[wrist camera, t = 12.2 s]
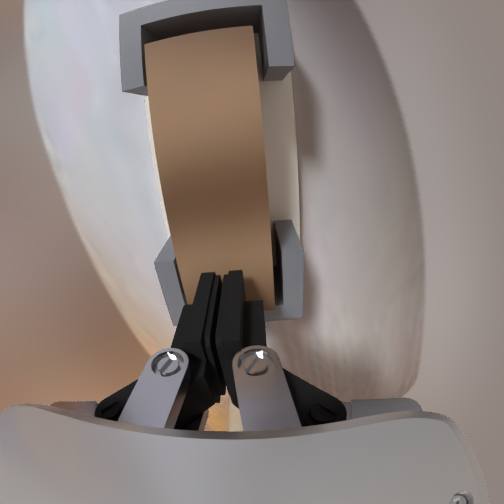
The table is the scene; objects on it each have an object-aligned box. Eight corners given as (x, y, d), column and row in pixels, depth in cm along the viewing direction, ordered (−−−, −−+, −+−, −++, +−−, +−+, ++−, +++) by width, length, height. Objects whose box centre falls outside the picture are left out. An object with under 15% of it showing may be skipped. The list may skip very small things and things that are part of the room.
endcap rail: (146, 42, 11) (109, 18, 7) (282, 23, 11) (296, -13, 7) (182, 278, 19) (165, 326, 14) (297, 269, 18) (311, 316, 14)
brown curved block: (176, 66, 12) (144, 44, 7) (251, 55, 12) (252, 25, 7) (204, 263, 17) (190, 315, 13) (268, 258, 17) (275, 310, 12)
